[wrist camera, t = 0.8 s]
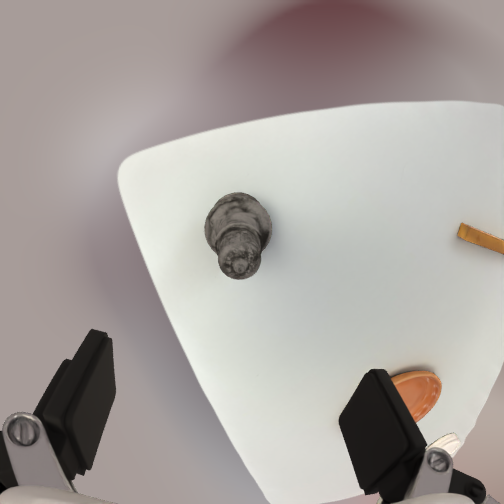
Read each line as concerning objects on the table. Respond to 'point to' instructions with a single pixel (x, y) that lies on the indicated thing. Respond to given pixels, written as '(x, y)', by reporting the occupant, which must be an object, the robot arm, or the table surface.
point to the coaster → (447, 443)
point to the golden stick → (481, 238)
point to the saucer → (418, 391)
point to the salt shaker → (238, 234)
